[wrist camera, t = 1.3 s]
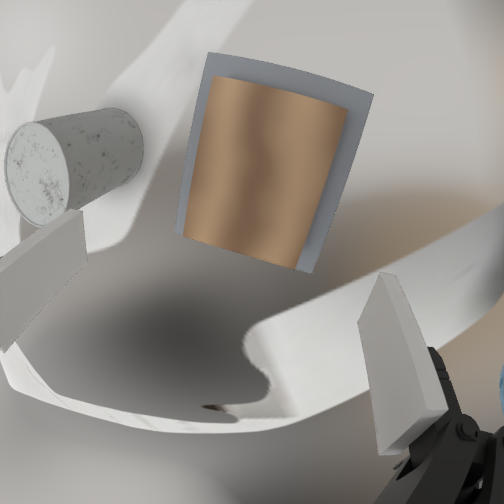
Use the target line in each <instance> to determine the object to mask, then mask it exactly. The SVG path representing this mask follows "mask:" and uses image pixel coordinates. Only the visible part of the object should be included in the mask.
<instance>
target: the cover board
mask: <svg viewBox="0 0 504 504" xmlns="http://www.w3.org/2000/svg"><path fill="white" fill-rule="evenodd" d="M347 112H348V109H345V108H342V107H339V106H336V105H333V104H330V103H327V102H324V101H320V100H317V99H314V98H311V97H307V96H304V95H300V94H296V93H293V92H289V91H285V90H281V89H277V88H273V87H269V86H265V85H260V84H256V83H251V82H246V81H241V80H236V79H231V78H225V77H220V76H213V78H212V83H211V87H210V91H209V95H208V100H207V104H206V109H205V114H204V118H203V123H202V128H201V133H200V138H199V143H198V148H197V153H196V158H195V164H194V169H193V175H192V181H191V186H190V192H189V198H188V205H187V211H186V218H185V224H184V231H183V236H184V237H187V238H190V239H193V240H197V241H200V242H203V243H207V244H210V245H213V246H217V247H220V248H223V249H227V250H230V251H233V252H237V253H240V254H244V255H247V256H250V257H253V258H257V259H260V260H264V261H267V262H271V263H274V264H277V265H281V266H284V267H287V268H290V269H294V270H295V268H296V266H297V263H298V260H299V257H300V255H301V252H302V249H303V246H304V243H305V241H306V238H307V235H308V232H309V229H310V226H311V224H312V221H313V218H314V215H315V212H316V209H317V206H318V203H319V200H320V197H321V194H322V191H323V188H324V185H325V182H326V179H327V176H328V173H329V170H330V167H331V164H332V161H333V158H334V154H335V151H336V148H337V145H338V142H339V138H340V135H341V132H342V129H343V125H344V122H345V119H346V115H347Z"/></svg>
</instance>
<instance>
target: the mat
mask: <svg viewBox="0 0 504 504" xmlns="http://www.w3.org/2000/svg"><path fill="white" fill-rule="evenodd" d="M213 76H220V77H225V78H231V79H236V80H241V81H246V82H251V83H256V84H260V85H265V86H269V87H273V88H277V89H281V90H285V91H289V92H293V93H296V94H300V95H304V96H307V97H311V98H314V99H317V100H320V101H324V102H327V103H330V104H333V105H336V106H339V107H342V108H345V109H348V112H347V115H346V119H345V122H344V125H343V129H342V132H341V135H340V138H339V142H338V145H337V148H336V151H335V154H334V158H333V161H332V164H331V167H330V170H329V173H328V176H327V179H326V182H325V185H324V188H323V191H322V194H321V197H320V200H319V203H318V206H317V209H316V212H315V215H314V218H313V221H312V224H311V226H310V229H309V232H308V235H307V238H306V241H305V243H304V246H303V249H302V252H301V255H300V257H299V260H298V263H297V266H296V268H295V269H297V270H300V271H303V272H307V273H310V274H312V272H313V269H314V267H315V264H316V262H317V259H318V257H319V254H320V251H321V249H322V246H323V244H324V241H325V238H326V236H327V233H328V231H329V228H330V225H331V222H332V220H333V217H334V215H335V212H336V209H337V206H338V204H339V201H340V198H341V195H342V192H343V189H344V186H345V183H346V181H347V178H348V175H349V172H350V169H351V166H352V163H353V160H354V157H355V154H356V151H357V148H358V145H359V142H360V138H361V135H362V132H363V129H364V126H365V123H366V119H367V116H368V113H369V109H370V106H371V103H372V99H373V96H374V94H371V93H369V92H367V91H364V90H361V89H358V88H355V87H353V86H350V85H347V84H344V83H341V82H338V81H335V80H332V79H329V78H326V77H322V76H319V75H315V74H312V73H309V72H305V71H301V70H297V69H293V68H289V67H286V66H281V65H277V64H273V63H268V62H264V61H259V60H254V59H248V58H243V57H237V56H231V55H224V54H218V53H211V52H208V55H207V59H206V63H205V67H204V72H203V76H202V80H201V84H200V89H199V93H198V98H197V102H196V107H195V112H194V117H193V122H192V126H191V132H190V137H189V142H188V148H187V154H186V159H185V165H184V171H183V177H182V184H181V189H180V196H179V202H178V210H177V217H176V224H175V233H176V234H179V235H183V231H184V224H185V218H186V211H187V205H188V198H189V192H190V186H191V181H192V175H193V169H194V164H195V158H196V153H197V148H198V143H199V138H200V133H201V128H202V123H203V118H204V114H205V109H206V104H207V100H208V95H209V91H210V87H211V83H212V78H213Z"/></svg>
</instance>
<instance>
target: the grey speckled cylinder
mask: <svg viewBox="0 0 504 504" xmlns="http://www.w3.org/2000/svg"><path fill="white" fill-rule="evenodd" d="M142 156H143V141H142V136H141V133H140V130H139V128H138V126H137V124H136V123H135V121H134V120H133V118H131V117H130V116H129V115H128V114H127V113H125V112H123V111H122V110H120V109H115V108H105V109H102V110H96V111H90V112H83V113H77V114H71V115H66V116H61V117H56V118H50V119H46V120H41V121H37V122H28V123H25V124H23V125H21V126H20V127H18V128H17V129H16V131H15V132H14V133H13V134H12V136H11V138H10V140H9V142H8V145H7V148H6V152H5V159H4V174H5V182H6V186H7V189H8V193H9V195H10V198H11V200H12V202H13V204H14V206H15V208H16V209H17V211H18V212H19V213H20V215H21V216H22V217H23V218H24V219H25V220H26V221H27V222H29V223H30V224H32V225H34V226H36V227H40V228H42V227H43V226H45V225H46V224H48V223H49V222H51V221H52V220H54V219H55V218H57V217H58V216H60V215H61V214H63V213H64V212H66V211H67V210H69V209H70V208H71V209H76V210H78V209H79V208H81V207H83V206H84V205H86V204H88V203H90V202H91V201H93V200H95V199H97V198H98V197H100V196H102V195H104V194H105V193H107V192H109V191H111V190H113V189H115V188H116V187H119V186H122V185H123V184H125V183H127V182H129V181H130V180H131V179H132V178H133V177H134V175H135V174H136V173H137V171H138V169H139V167H140V164H141V161H142Z"/></svg>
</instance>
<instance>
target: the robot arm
mask: <svg viewBox="0 0 504 504" xmlns="http://www.w3.org/2000/svg"><path fill="white" fill-rule="evenodd" d="M87 263H88V259H87V251H86V242H85V233H84V222H83V211H81V210H76V209H71V208H70V209H69V210H67V211H66V212H64V213H63V214H61V215H60V216H58V217H57V218H55V219H54V220H52V221H51V222H49V223H48V224H46V225H45V226H43V227H42V228H41V229H39V230H38V231H37V232H35V233H34V234H32V235H31V236H29V237H28V238H27V239H25V240H24V241H23V242H21V243H20V244H19V245H17V246H16V247H15V248H13V249H12V250H11V251H9V252H8V253H7V254H5V255H4V256H2V257H0V350H1V351H2V352H4V353H5V352H6V351H7V350H8V349H9V347H10V346H11V345H12V344H13V343H14V341H15V340H16V339H17V338H18V337H19V335H20V334H21V333H22V332H23V331H24V329H25V328H26V327H27V326H28V325H29V324H30V323H31V321H32V320H33V319H34V318H35V317H36V316H37V315H38V314H39V313H40V311H41V310H42V309H43V308H44V307H45V306H46V305H47V304H48V303H49V302H50V301H51V300H52V298H53V297H54V296H55V295H56V294H57V293H58V292H59V291H60V290H61V289H62V288H63V287H64V286H65V285H66V284H67V283H68V282H69V281H70V280H71V279H72V278H73V277H74V276H75V275H76V274H77V273H78V272H79V271H80V270H81V269H82V268H83V267H84V266H85V265H86V264H87ZM357 323H358V328H359V333H360V338H361V342H362V348H363V353H364V358H365V364H366V369H367V375H368V381H369V387H370V393H371V400H372V406H373V413H374V420H375V428H376V436H377V445H378V454H379V455H398V454H400V453H401V452H402V451H403V450H405V449H406V448H407V447H408V446H409V452H410V455H409V456H408V457H406V458H405V459H404V460H402V461H401V462H400V463H398V464H397V465H396V466H395V467H394V468H393V469H394V470H396V469H397V468H399V469H398V470H397V472H396V474H395V475H394V476H393V478H392V479H391V480H390V482H389V483H388V485H387V486H386V487H385V489H384V490H383V491H382V493H381V494H380V495H379V497H378V498H377V499H376V500H375V502H374V503H373V504H504V426H503V427H501V428H500V429H498V430H497V431H496V432H495V433H494V434H492V433H488V432H484V431H480V429H479V426H478V425H477V423H476V421H475V420H474V419H473V418H472V417H470V416H468V415H466V414H462V412H461V409H460V406H459V403H458V400H457V397H456V395H455V392H454V389H453V386H452V383H451V381H450V380H449V375H448V373H447V371H446V367H445V365H444V362H443V360H442V357H441V356H440V355H439V354H438V352H437V351H436V350H435V349H434V347H427V346H426V343H425V341H424V338H423V336H422V333H421V331H420V328H419V326H418V324H417V321H416V319H415V316H414V314H413V312H412V310H411V307H410V305H409V303H408V300H407V298H406V296H405V294H404V292H403V290H402V287H401V285H400V283H399V281H398V279H397V277H396V275H391V274H387V273H382V272H380V274H379V276H378V278H377V281H376V283H375V285H374V287H373V290H372V292H371V294H370V296H369V299H368V301H367V303H366V305H365V307H364V309H363V312H362V314H361V316H360V318H359V320H358V322H357ZM499 386H500V400H501V405H502V410H503V413H504V365H503V367H502V370H501V374H500V382H499ZM482 480H483V483H482V488H480V489H479V482H481V481H482Z"/></svg>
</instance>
